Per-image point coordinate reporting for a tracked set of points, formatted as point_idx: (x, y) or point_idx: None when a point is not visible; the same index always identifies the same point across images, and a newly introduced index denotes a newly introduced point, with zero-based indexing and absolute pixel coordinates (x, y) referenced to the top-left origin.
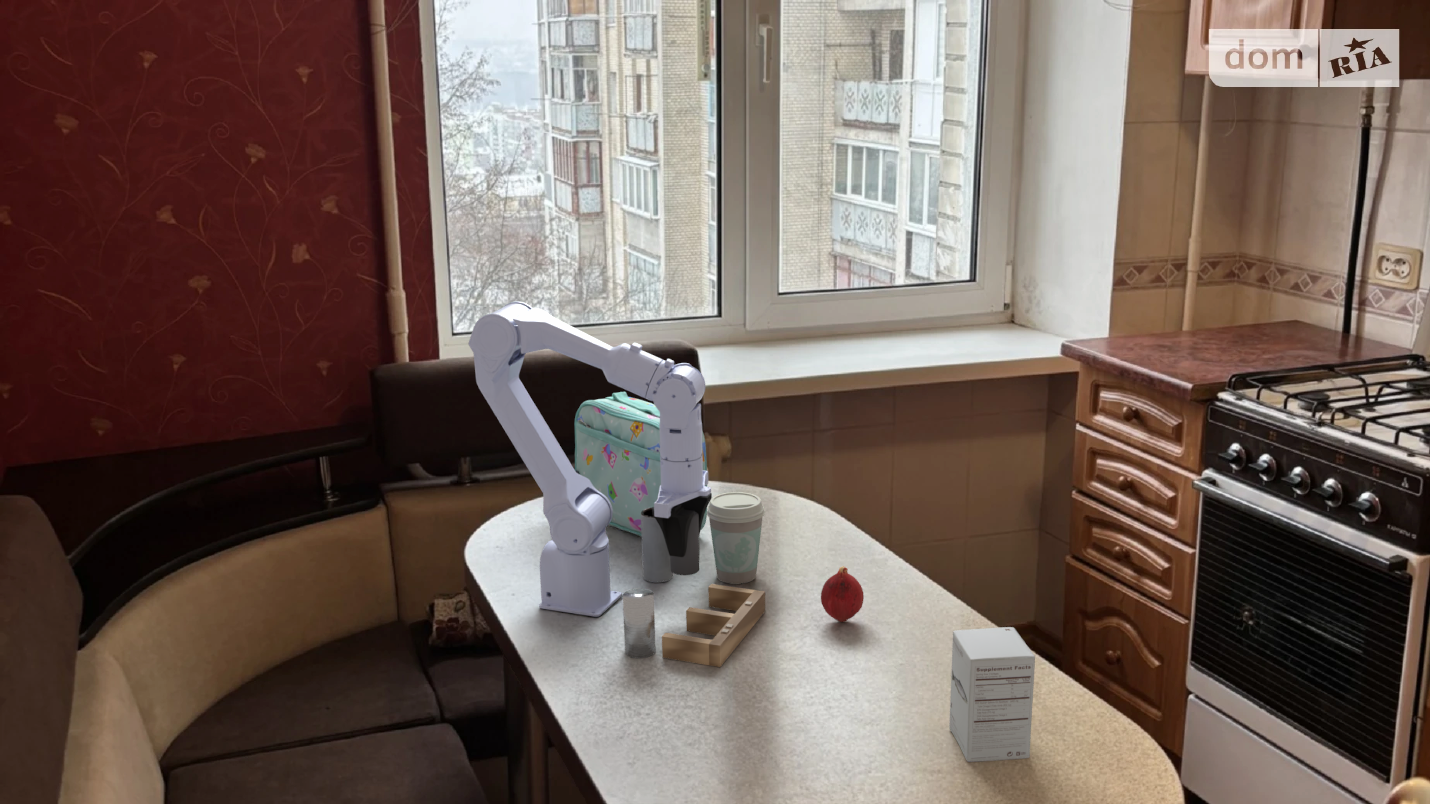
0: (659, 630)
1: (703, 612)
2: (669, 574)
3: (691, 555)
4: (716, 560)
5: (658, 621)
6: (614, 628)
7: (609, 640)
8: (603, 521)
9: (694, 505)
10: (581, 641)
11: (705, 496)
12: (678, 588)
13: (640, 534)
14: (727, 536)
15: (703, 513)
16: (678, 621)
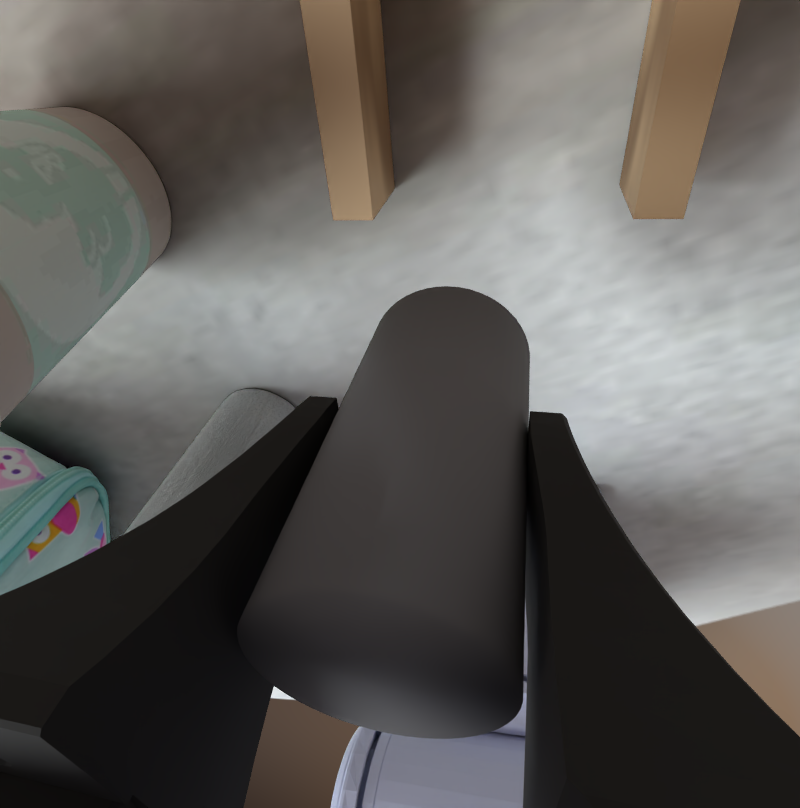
0: (665, 293)
1: (701, 111)
2: (260, 402)
3: (494, 374)
4: (127, 287)
5: (582, 323)
6: (668, 431)
7: (774, 420)
8: (463, 795)
9: (189, 678)
10: (784, 485)
11: (21, 744)
12: (303, 349)
13: (107, 523)
14: (27, 285)
15: (164, 537)
16: (565, 254)
